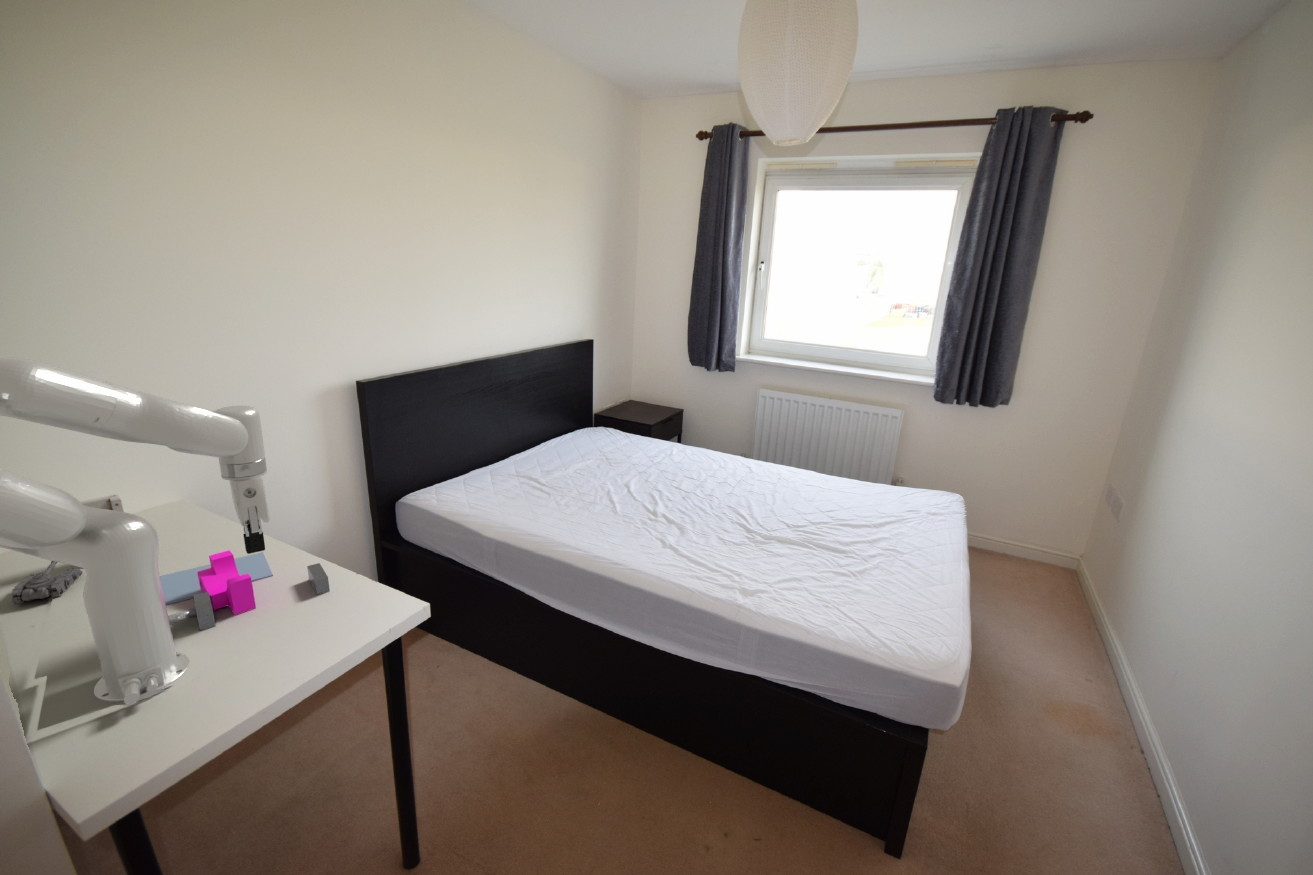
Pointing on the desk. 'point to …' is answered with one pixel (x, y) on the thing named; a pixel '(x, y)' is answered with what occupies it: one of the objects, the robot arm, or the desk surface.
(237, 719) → the desk surface
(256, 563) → the rubber mat
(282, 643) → the desk surface
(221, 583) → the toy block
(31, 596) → the tank toy
